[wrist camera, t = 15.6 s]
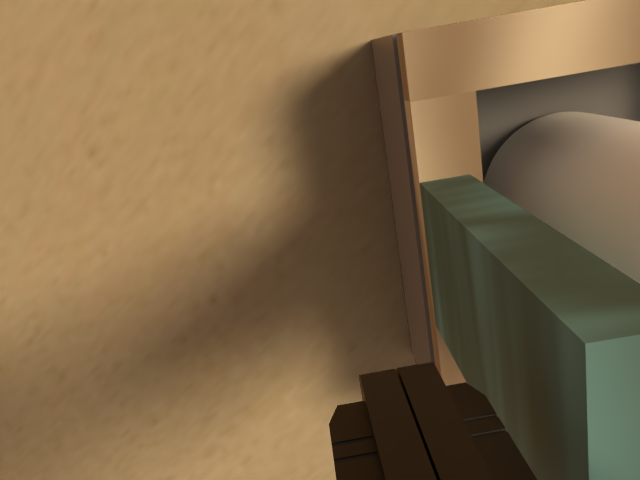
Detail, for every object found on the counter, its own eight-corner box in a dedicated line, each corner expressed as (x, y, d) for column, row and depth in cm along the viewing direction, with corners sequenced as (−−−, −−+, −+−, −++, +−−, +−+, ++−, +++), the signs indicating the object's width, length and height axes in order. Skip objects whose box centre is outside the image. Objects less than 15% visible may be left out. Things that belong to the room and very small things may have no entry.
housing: (411, 352, 27) (437, 415, 22) (371, 40, 23) (391, 34, 18) (707, 301, 27) (797, 354, 22) (722, -21, 23) (837, -43, 18)
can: (510, 287, 25) (693, 478, 14) (454, 154, 23) (612, 246, 12) (651, 222, 24) (967, 365, 13) (605, 80, 23) (928, 101, 11)
